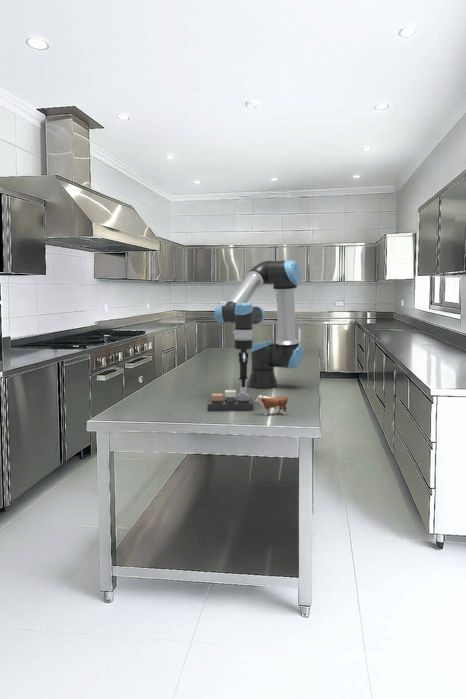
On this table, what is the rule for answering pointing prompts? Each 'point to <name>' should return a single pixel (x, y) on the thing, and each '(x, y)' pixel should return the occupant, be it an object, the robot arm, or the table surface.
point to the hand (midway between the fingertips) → (243, 393)
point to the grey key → (243, 397)
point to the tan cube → (217, 397)
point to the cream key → (230, 395)
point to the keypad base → (230, 405)
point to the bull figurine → (272, 403)
